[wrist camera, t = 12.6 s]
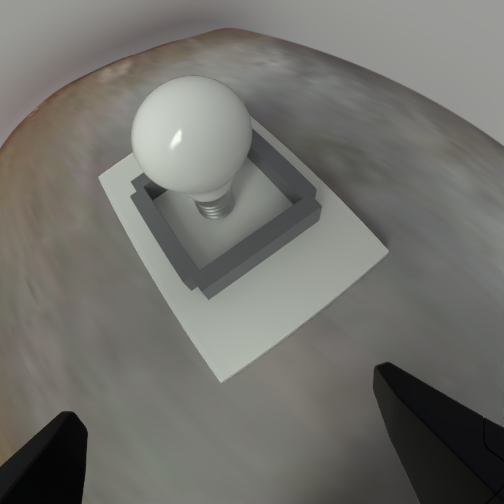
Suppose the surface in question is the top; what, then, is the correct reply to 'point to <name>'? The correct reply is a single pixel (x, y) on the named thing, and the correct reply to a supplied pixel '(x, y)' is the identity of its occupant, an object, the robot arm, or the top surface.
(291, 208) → the bulb holder
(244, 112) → the lightbulb
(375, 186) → the top surface
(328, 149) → the top surface
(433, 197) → the top surface
